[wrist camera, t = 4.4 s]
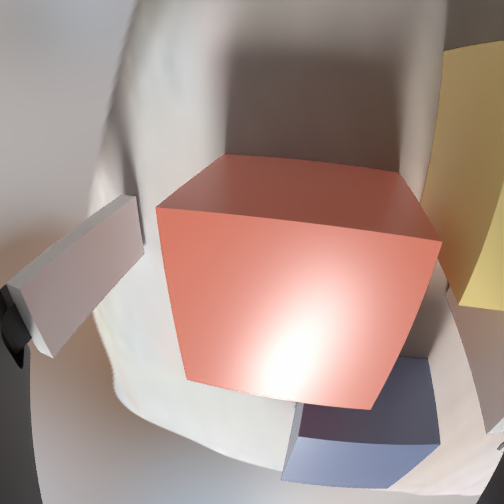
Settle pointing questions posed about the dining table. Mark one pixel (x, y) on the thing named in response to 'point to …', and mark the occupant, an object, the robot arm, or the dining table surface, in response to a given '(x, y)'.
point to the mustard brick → (470, 174)
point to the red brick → (295, 276)
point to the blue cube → (366, 434)
